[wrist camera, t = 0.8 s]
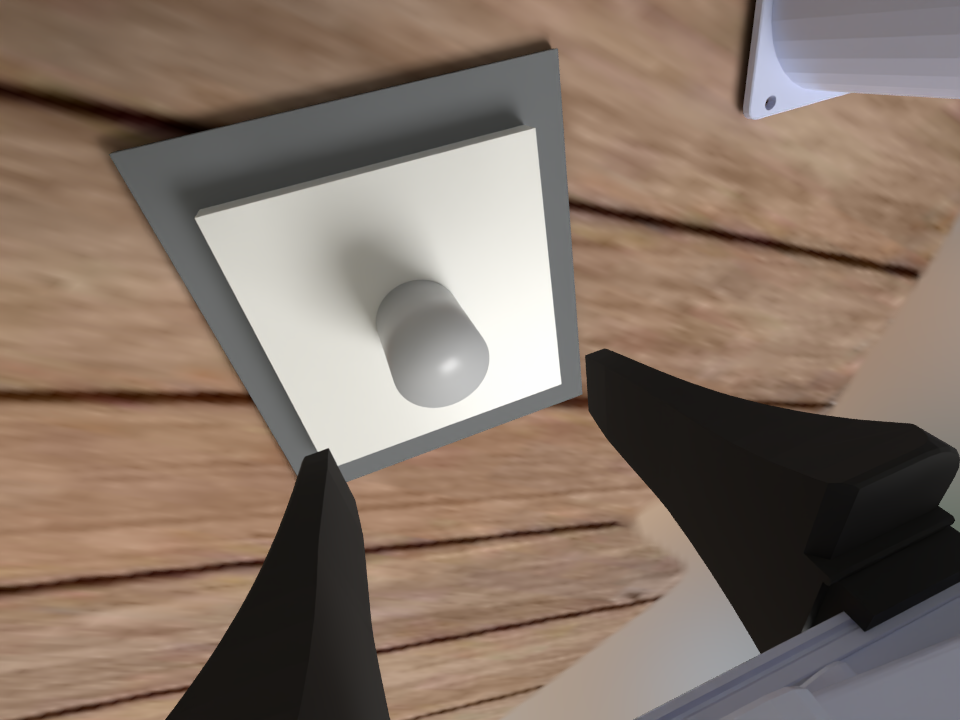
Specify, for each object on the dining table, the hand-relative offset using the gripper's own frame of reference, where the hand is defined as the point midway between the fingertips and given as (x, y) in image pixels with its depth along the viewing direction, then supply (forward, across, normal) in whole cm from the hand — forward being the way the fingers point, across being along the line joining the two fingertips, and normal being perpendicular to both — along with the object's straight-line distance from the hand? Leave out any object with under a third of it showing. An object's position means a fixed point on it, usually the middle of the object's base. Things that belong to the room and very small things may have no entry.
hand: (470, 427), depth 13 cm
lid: (+8, 0, 0) cm, 8 cm away
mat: (+8, 0, 0) cm, 8 cm away
